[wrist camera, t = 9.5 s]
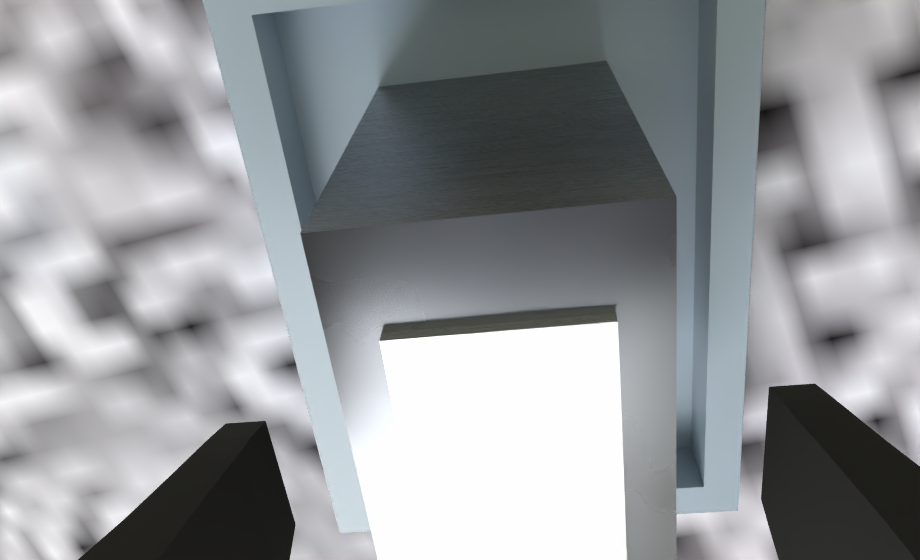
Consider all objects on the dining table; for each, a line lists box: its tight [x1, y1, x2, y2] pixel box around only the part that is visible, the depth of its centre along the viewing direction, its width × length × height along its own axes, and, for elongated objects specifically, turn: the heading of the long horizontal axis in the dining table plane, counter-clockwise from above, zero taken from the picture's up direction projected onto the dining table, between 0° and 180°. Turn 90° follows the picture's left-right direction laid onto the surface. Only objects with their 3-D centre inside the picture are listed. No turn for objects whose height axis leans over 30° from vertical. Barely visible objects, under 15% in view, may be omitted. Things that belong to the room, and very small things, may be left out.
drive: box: [300, 61, 677, 560], centre depth 14 cm, size 4×8×7 cm, turn 7°
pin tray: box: [202, 0, 766, 533], centre depth 16 cm, size 10×15×4 cm, turn 7°
